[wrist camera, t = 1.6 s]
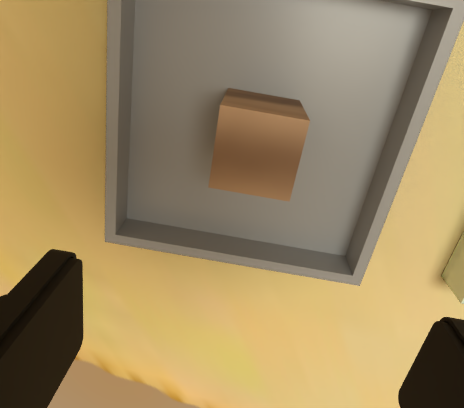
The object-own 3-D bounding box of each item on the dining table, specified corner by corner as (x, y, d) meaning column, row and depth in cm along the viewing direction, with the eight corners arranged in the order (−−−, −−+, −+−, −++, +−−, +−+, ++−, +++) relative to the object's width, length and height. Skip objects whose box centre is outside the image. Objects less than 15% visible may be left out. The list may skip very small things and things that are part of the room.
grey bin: (128, -60, 23) (108, -72, 20) (445, -2, 23) (473, -6, 20) (120, 220, 32) (104, 241, 29) (350, 260, 32) (359, 285, 29)
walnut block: (228, 87, 26) (220, 104, 20) (299, 100, 26) (310, 120, 21) (218, 155, 28) (208, 187, 23) (283, 167, 28) (289, 201, 23)
